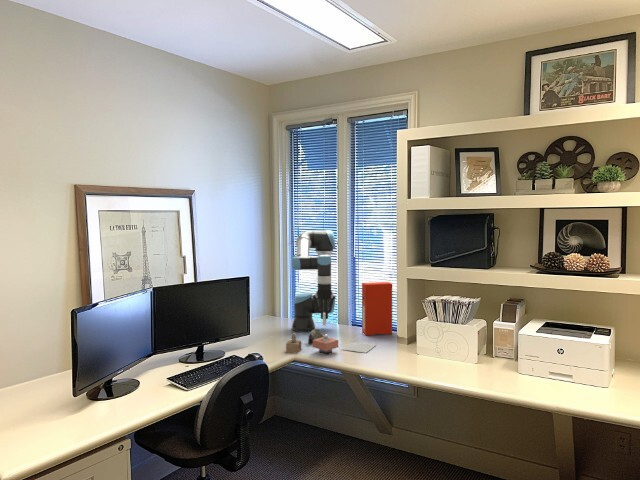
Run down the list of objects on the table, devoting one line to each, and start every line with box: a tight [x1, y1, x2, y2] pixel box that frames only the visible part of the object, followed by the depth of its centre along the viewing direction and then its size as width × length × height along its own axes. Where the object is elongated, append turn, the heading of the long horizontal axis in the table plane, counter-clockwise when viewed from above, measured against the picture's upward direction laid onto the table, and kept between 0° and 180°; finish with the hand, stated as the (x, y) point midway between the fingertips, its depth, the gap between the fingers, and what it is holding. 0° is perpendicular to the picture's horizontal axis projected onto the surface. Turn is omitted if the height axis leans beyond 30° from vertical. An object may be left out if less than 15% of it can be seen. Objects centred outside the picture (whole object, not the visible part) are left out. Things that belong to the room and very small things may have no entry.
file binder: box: [361, 281, 393, 336], centre depth 301 cm, size 8×17×32 cm, turn 101°
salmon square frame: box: [312, 337, 339, 351], centre depth 263 cm, size 10×10×4 cm
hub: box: [318, 333, 333, 355], centre depth 263 cm, size 7×7×10 cm
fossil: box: [307, 328, 324, 345], centre depth 281 cm, size 11×9×10 cm
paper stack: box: [342, 341, 377, 354], centre depth 266 cm, size 23×25×1 cm
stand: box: [285, 332, 302, 354], centre depth 266 cm, size 7×7×10 cm
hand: (324, 324), depth 267 cm, fingers closed
